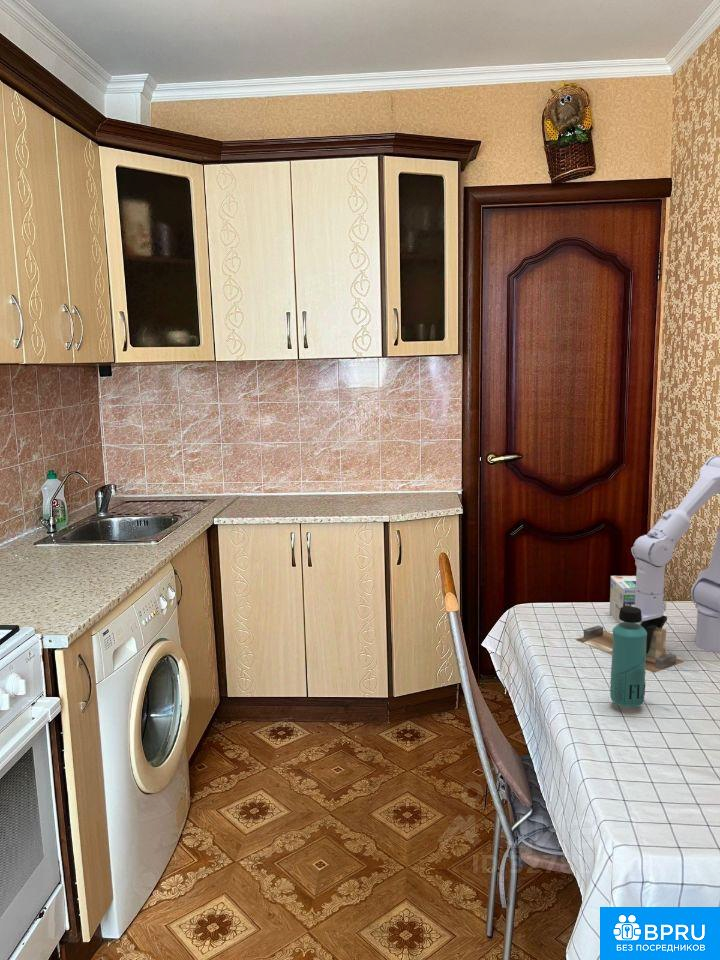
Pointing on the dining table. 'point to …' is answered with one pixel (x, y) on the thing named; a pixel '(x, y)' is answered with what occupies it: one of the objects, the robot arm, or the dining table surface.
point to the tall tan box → (657, 645)
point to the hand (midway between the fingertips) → (646, 649)
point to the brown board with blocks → (605, 642)
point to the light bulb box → (621, 594)
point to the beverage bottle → (628, 659)
